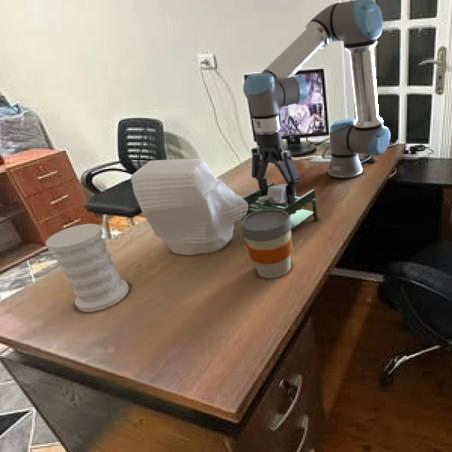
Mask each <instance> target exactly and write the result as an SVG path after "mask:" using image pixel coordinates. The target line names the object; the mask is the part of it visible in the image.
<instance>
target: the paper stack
mask: <svg viewBox="0 0 452 452" xmlns="http://www.w3.org/2000/svg"><path fill="white" fill-rule="evenodd" d="M130 178H131V179H130V182H131V184H132V185H131V187H132V192H133V195H134V197H135V199H136V201H137V203H138V205H139V209H140V211H141V212H142V216H143V217H144V218H145V221H147V223H148V224H149V226H150V227H151V229H152V231H153V233H154V235H156V236H157V237H159V238H160V239H161V241H163V243H164V244H165V245H167V247H168V248H169V249H170V251H171V252H172V253H173V254H175V255H185V256H195V255H200V254H214V253H216V252H218V251H219V250H221V249H224V248H225V247H226V246H227V245H228V243H229V242H231V240H232V239H233V235H234V229H235V227H234V226H235V224H236V223H238V222H240V221H242V219H243V217H244V216H245V215H246V214H247V211H248V203H247V202H246V201H245V200H244V199H242V198H241V197H239V196H240V195H238V194H237V193H235V191H234V190H232V189H231V188H230V187H229V186H228V185H227V184H226V183H224V181H223V180H222V178H220V177H216V176H215V174H214V173H213V172H212V171H211V169H210V168H209V166H208V164H207V163H206V162H205V160H202V159H197V158H178V159H177V158H176V159H175V158H174V159H157V160H155V159H154V160H149V161H148V162H147V163H145V164H144V165H143V166H141V167H140V168H139V169H138V170H136V171H135V172H133V174H132V175H131V177H130Z"/></svg>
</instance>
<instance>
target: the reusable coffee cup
mask: <svg viewBox="0 0 452 452" xmlns="http://www.w3.org/2000/svg"><path fill="white" fill-rule="evenodd" d="M240 221H241V222H240V224H241V226H240V227H241V234H242V236H243V238H244V240H245V241H244V243H245V247H246V249H247V252H248V254H249V257H250V259H251V261H252V262H253V263H254V266H255V268H256V272H257V274H258V275H259V276H260V277H262V278H265V279H276V278H280V277H283V276H284V275H286V274H287V273H288V272H289V271H290V270H291V268H292V267H291V265H292V263H291V261H292V258H291V257H292V256H291V255H292V253H293V233H292V231H291V228H292V224H291V220H290V217H289V214H288V213H287V212H286V211H284V210H280V209H264V210H259V211H255V212H253V213H250V214H248V215H247V216H245V217H244V218H242V219H241V220H240Z"/></svg>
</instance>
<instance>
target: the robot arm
mask: <svg viewBox="0 0 452 452" xmlns="http://www.w3.org/2000/svg"><path fill="white" fill-rule="evenodd" d="M383 27H384V20H383V14H382V11H381V8H380V7H379V5H378V4H377V2H375V0H349V1H343V2H336V3H335V2H334V3H332V4H330V5H329V6H328V5H327V7H325V8H324V9H322V10H321V11H319V12H318V13H317V14H316V15H315V16H314V17H313V18H311V19H310V20H309V22H307V24H306V25H305V29H304V31H303V32H302V33H301V34H300V35H299V36H298V37H296V39H295V40H294V41H292V42H291V44H289V45H288V46H287V47H286V48H285V49H284V50H283V51H282V52H281V53H280V54H279V55H278V56H277V57H276V58H275V59H274V60H273V61H272V62H271V63H270V64H269V65H267V67H265V69H264V70H262V71H261V72H260V73H257V74H249V75H248V76H247V77H246V79H245V81H244V83H243V85H242V91H243V95H244V97H245V98H246V99H247V100H248V101H249V107H250V112H251V117H252V123H253V131H254V132H255V141H256V147H253V148H251V149H250V152H251V155H252V159H251V178H253V179H256V181H257V184H258V185H257V186H258V188H259V189H260V190H261V195H262V197H263V196H267V194H268V186H267V185H268V180H267V178H266V172H267V171H268V166H269V164H273V165H274V166H275V167H276V168H277V169H278V171H279V172H280V175H281V176H282V178H283V179H284V181H285V184H288V185H286V193H287V200H288V203H287V204H288V205H289V204H291V203H292V202H294V201H295V196H294V194H295V193H296V194H297V190H296V191H295V189H296V184H298V183H299V182H300V181H301V180H300V177H299V174H298V171H297V168H296V166H295V165H296V164H295V163H294V160H293V155H292V150H284V149H283V148H282V145H283V138H282V137H283V135H282V132H281V131H280V130H281V124H280V123H281V122H280V117H279V108H283V107H287V106H291V105H292V106H293V105H298V104H300V103H302V102H305V101H306V99H307V98H308V95H309V86H308V84H307V82H306V80H305V79H304V78H303V77H302V76H295V74H296V73H298V72H299V71H300V70H301V68H302V67H303V66H304V65H306V64H307V62H308V61H309V60H310V59H312V57H313V56H314V55H315V54H317V52H318V51H319V50H320V49H321V50H323V49H325V48H326V47H327V46H329V45H330V44H332V43H335V42H343V49H344V50H346V51H347V52H348V56H349V65H350V72H351V82H352V91H353V99H354V106H355V116H356V118H345V119H340V120H336V121H333V122H331V123H330V124H329V143H330V144H329V145H330V154H331V155H330V156H331V157H330V161H329V165H328V170H327V172H328V175H329V176H330V177H331V178H335V179H353V178H357V177H359V176H361V175H362V174H363V166H362V163H366V162H368V161H370V159H371V158H372V156H373V157H374V156H375V157H379V156H382V155H383V154H384V153H385V152H386V151H387V148H390V147H394V146H396V145H397V144H398V143H399V142H400V141H399V140H398V139H396V141H395V143H392V144H390V140H391V131H390V129H389V128H388V127H387V126H384V120H383V118H382V117H380V115H379V104H378V92H377V79H376V67H375V65H376V64H375V56H374V53H375V52H374V48H375V47H376V45H377V44H378V38H379V37H380V36H381V34H382V32H383V30H382V29H383ZM389 144H390V145H389ZM359 154H360V155H367V156H369V157H367V158H366V159H363V160H360V157H359ZM259 189H258V190H259Z"/></svg>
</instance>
